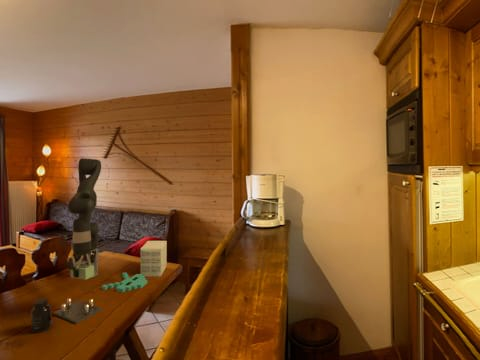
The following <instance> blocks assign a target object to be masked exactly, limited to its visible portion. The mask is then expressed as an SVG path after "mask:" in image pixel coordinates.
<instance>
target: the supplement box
mask: <svg viewBox="0 0 480 360" xmlns="http://www.w3.org/2000/svg"><path fill="white" fill-rule="evenodd" d="M167 242H168V241H167V240H147V241H146V242H145V243H144V244H143V246H141V247H140V274H142V275H143V276H145V277H161V276H162V275H163V273H164V271H165V269H166V268H167V258H168V257H167V256H168V254H167V246H168V245H167V244H168V243H167Z"/></svg>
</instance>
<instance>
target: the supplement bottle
mask: <svg viewBox="0 0 480 360" xmlns="http://www.w3.org/2000/svg"><path fill="white" fill-rule="evenodd" d="M30 325H31V327H30V328H31V331H32V333H35V334H39V333H43V332H45V331H47V330H49V329H50V328H51V326H52V307H51V305H50V304H49V302H48V298H46V297H45V298H43V297H42V298H39V299H36V300H34V301H33V308H32V309H31V311H30Z"/></svg>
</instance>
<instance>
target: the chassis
mask: <svg viewBox="0 0 480 360" xmlns="http://www.w3.org/2000/svg"><path fill="white" fill-rule="evenodd" d="M101 311H102V307H99V306H96V305H94V299H93V298H90V299H88V303H87V302H84V301H81V300H77V301H75V302H73V303H72V298H71V297H67V299H66V303H65V302H64V303H62V304H61V308H59V309H58V310H55V311H53V315H54V316H56V317H58V318H61V319H63V320H66V321H68V322H71V323H73V324H76V325H77V324H79V323H81V322H83V321H85V320H86V318H87V319H88V318H90V317H92V316H94V315H96V314H97V313H99V312H101Z"/></svg>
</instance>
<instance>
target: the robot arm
mask: <svg viewBox="0 0 480 360" xmlns="http://www.w3.org/2000/svg"><path fill="white" fill-rule="evenodd" d="M77 169H78V171H77V173H78V186H77V190H76V193H75V194H74V195H73V196H72V197H71V199H70V200H69V202H68V204H67V205H68V206H67V207H68V208H67V211H69V213H71V214H73V215H75V214H77V215H78V218H75V219H73V221H72V251H73V253H72V256H69V257H66V263H67V269H68V270H69V271H70V270H73V276H74V277H75V278H74V279H77V278H78V277H79V270H78V268H79V265H80V264H86V265H94V276H93V277H90V278H89V279H91V278H95V277H97V276H98V275H99V253H98V252H99V249H98V248H99V247H98V244H99V242H98V241H99V240H98V239H99V238H98V237H99V226H98V223H97V222H94V221H93V222H91V218H92V214H93V212H94V210H95V208H96V206H97V201H98V200H97V199H98V197H97V193H96V191H95V186H96V183H97V181H98V179H99V178H100V176H101V172H102V163H101V161H100V159H96V158H95V159H93V158H86V157H85V158H84V157H83V158H80V159H79V160H78V167H77ZM87 176H88V177H87Z"/></svg>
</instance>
